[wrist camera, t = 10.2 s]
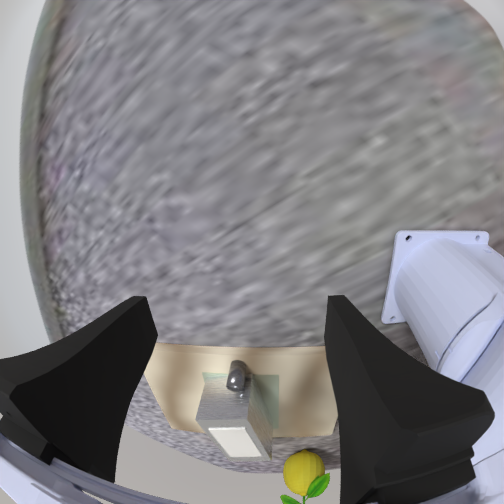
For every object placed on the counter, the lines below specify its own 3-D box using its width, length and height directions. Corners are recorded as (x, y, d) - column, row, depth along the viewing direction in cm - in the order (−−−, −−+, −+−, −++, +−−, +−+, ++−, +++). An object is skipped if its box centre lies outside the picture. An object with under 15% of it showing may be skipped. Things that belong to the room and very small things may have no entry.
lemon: (281, 459, 33) (279, 515, 24) (276, 443, 31) (273, 507, 22) (326, 454, 32) (329, 511, 23) (327, 439, 30) (331, 503, 21)
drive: (252, 373, 23) (246, 419, 19) (273, 422, 27) (271, 461, 22) (206, 376, 24) (194, 420, 20) (235, 424, 28) (229, 462, 23)
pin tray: (352, 344, 23) (360, 373, 19) (331, 428, 29) (333, 451, 26) (136, 340, 25) (122, 365, 22) (173, 422, 31) (167, 443, 28)
